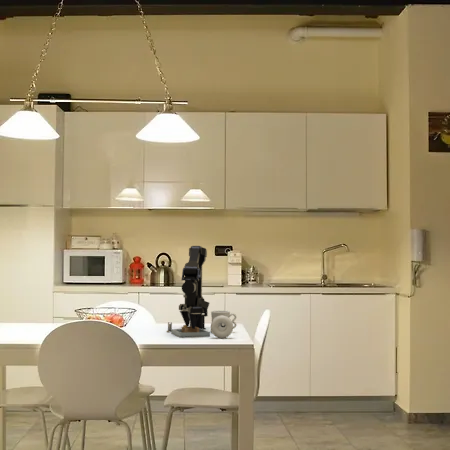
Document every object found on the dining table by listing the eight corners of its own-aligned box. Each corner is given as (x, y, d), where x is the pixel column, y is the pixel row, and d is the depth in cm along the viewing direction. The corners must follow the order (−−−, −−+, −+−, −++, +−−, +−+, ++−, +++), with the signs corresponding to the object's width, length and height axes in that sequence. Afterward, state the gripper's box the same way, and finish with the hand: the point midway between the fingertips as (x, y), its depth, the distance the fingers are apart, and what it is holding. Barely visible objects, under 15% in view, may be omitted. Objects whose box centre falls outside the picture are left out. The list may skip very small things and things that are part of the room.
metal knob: (171, 331, 315) (172, 322, 315) (173, 332, 312) (173, 322, 312) (165, 331, 314) (165, 322, 314) (167, 332, 311) (167, 322, 311)
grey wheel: (233, 338, 295) (233, 315, 295) (232, 339, 291) (233, 316, 292) (210, 337, 295) (211, 314, 296) (210, 338, 292) (210, 315, 292)
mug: (212, 334, 308) (213, 312, 308) (208, 331, 317) (209, 310, 317) (238, 333, 311) (239, 312, 311) (234, 331, 320) (234, 310, 320)
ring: (181, 333, 305) (181, 324, 305) (194, 332, 307) (194, 324, 307) (185, 335, 299) (185, 326, 299) (199, 334, 301) (199, 325, 301)
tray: (200, 332, 312) (200, 328, 312) (210, 336, 299) (210, 331, 299) (171, 333, 307) (171, 329, 307) (180, 337, 294) (180, 332, 294)
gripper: (214, 294, 298) (214, 329, 297) (201, 291, 315) (200, 324, 315) (190, 294, 294) (190, 330, 293) (178, 291, 311) (178, 325, 311)
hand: (190, 327), depth 303 cm, fingers open, 9 cm apart
